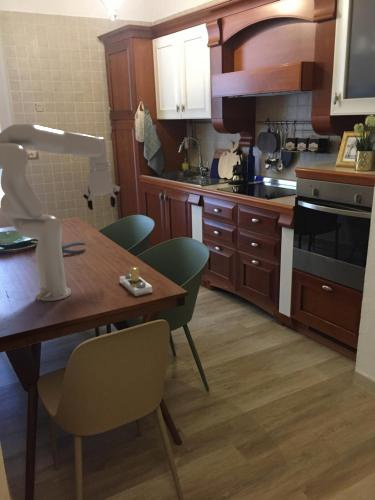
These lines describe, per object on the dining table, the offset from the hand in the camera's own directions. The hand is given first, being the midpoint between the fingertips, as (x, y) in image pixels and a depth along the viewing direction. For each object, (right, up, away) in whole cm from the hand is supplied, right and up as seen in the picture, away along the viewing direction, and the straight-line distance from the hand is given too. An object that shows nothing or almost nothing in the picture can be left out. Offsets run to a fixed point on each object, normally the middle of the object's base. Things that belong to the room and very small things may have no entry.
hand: (102, 208), depth 187 cm
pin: (+16, -33, -12) cm, 39 cm away
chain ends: (+16, -33, -12) cm, 39 cm away
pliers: (-25, -21, +33) cm, 46 cm away
